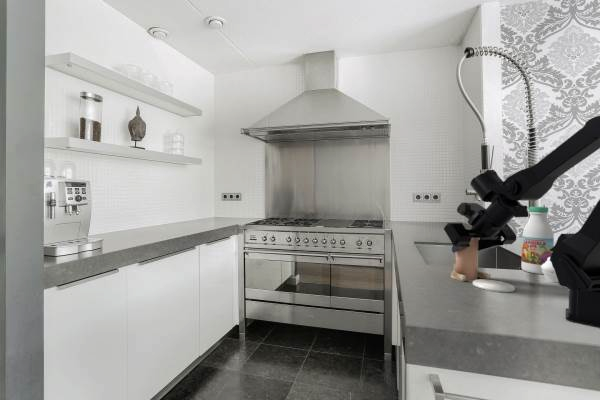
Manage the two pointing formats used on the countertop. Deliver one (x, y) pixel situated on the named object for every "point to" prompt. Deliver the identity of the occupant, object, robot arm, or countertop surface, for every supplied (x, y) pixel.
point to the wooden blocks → (463, 277)
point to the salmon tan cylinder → (468, 261)
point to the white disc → (493, 285)
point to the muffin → (549, 271)
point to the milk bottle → (536, 240)
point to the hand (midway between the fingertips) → (463, 251)
